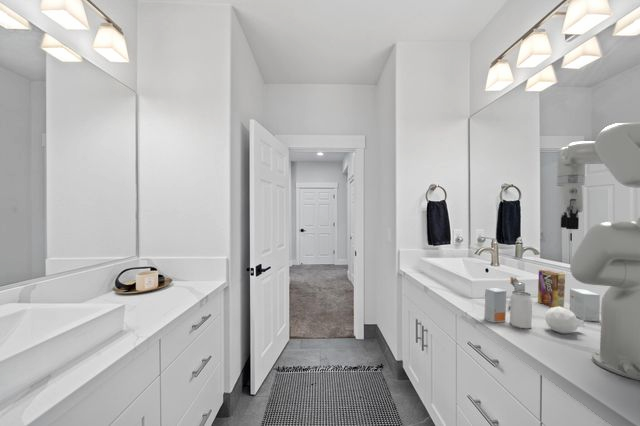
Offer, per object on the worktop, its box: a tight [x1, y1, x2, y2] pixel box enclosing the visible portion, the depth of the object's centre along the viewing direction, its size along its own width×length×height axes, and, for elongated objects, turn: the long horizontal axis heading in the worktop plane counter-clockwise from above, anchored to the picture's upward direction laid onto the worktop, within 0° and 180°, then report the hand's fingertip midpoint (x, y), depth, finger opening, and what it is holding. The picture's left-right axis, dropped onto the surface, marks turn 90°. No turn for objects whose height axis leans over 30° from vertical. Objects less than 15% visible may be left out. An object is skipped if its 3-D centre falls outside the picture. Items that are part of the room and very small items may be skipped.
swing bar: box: [509, 276, 526, 292], centre depth 125 cm, size 4×16×4 cm, turn 155°
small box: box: [569, 288, 601, 322], centre depth 112 cm, size 8×6×10 cm
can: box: [509, 290, 533, 330], centre depth 103 cm, size 6×6×12 cm
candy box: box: [537, 269, 566, 308], centre depth 126 cm, size 9×4×15 cm, turn 13°
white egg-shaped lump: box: [544, 306, 585, 335], centre depth 98 cm, size 9×9×12 cm
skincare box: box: [483, 287, 508, 324], centre depth 107 cm, size 6×4×12 cm
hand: (569, 228), depth 101 cm, fingers open, 9 cm apart
